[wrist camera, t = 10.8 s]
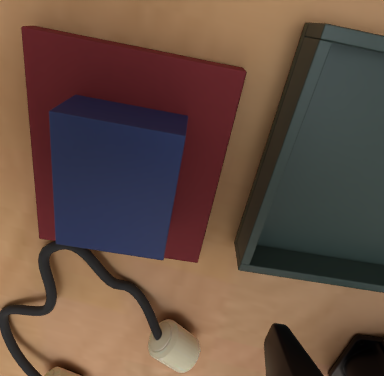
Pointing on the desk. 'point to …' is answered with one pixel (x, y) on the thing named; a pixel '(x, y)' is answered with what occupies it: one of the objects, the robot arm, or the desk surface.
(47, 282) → the cable
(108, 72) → the dark red flat slab
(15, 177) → the desk surface
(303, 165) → the dark green tray
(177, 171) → the blue rectangular block
